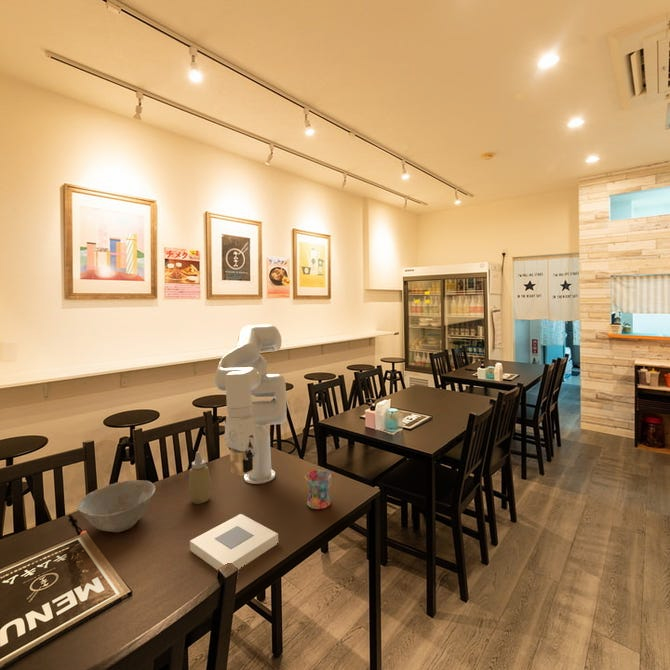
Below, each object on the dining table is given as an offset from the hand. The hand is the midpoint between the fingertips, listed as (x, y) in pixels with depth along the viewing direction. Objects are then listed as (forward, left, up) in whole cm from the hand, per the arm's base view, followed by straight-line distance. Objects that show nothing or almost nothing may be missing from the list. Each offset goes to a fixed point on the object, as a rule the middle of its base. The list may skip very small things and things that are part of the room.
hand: (242, 468), depth 122 cm
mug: (+8, +27, -20) cm, 35 cm away
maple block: (0, 0, -1) cm, 1 cm away
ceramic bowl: (-36, -23, -20) cm, 47 cm away
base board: (+4, -7, -20) cm, 22 cm away
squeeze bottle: (-29, +2, -20) cm, 35 cm away
